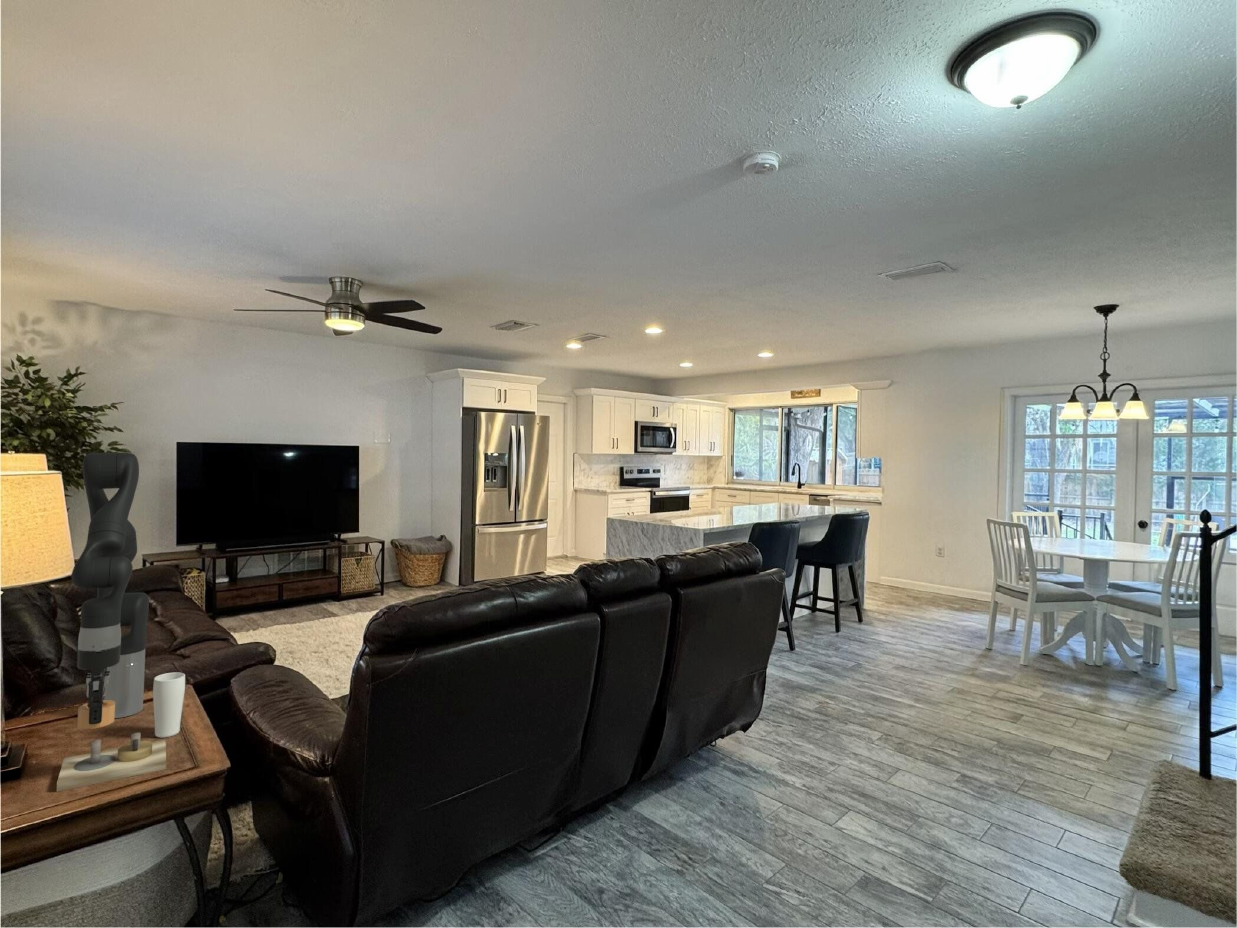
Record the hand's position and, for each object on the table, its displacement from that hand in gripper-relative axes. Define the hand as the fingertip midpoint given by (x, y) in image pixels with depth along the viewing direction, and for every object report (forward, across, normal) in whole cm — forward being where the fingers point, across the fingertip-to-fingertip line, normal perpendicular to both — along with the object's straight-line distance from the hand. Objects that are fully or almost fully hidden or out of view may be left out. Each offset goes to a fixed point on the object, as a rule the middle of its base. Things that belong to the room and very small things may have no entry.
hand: (96, 717), depth 143 cm
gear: (+1, 0, 0) cm, 1 cm away
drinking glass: (+12, -15, +14) cm, 24 cm away
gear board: (+12, 0, +4) cm, 13 cm away
